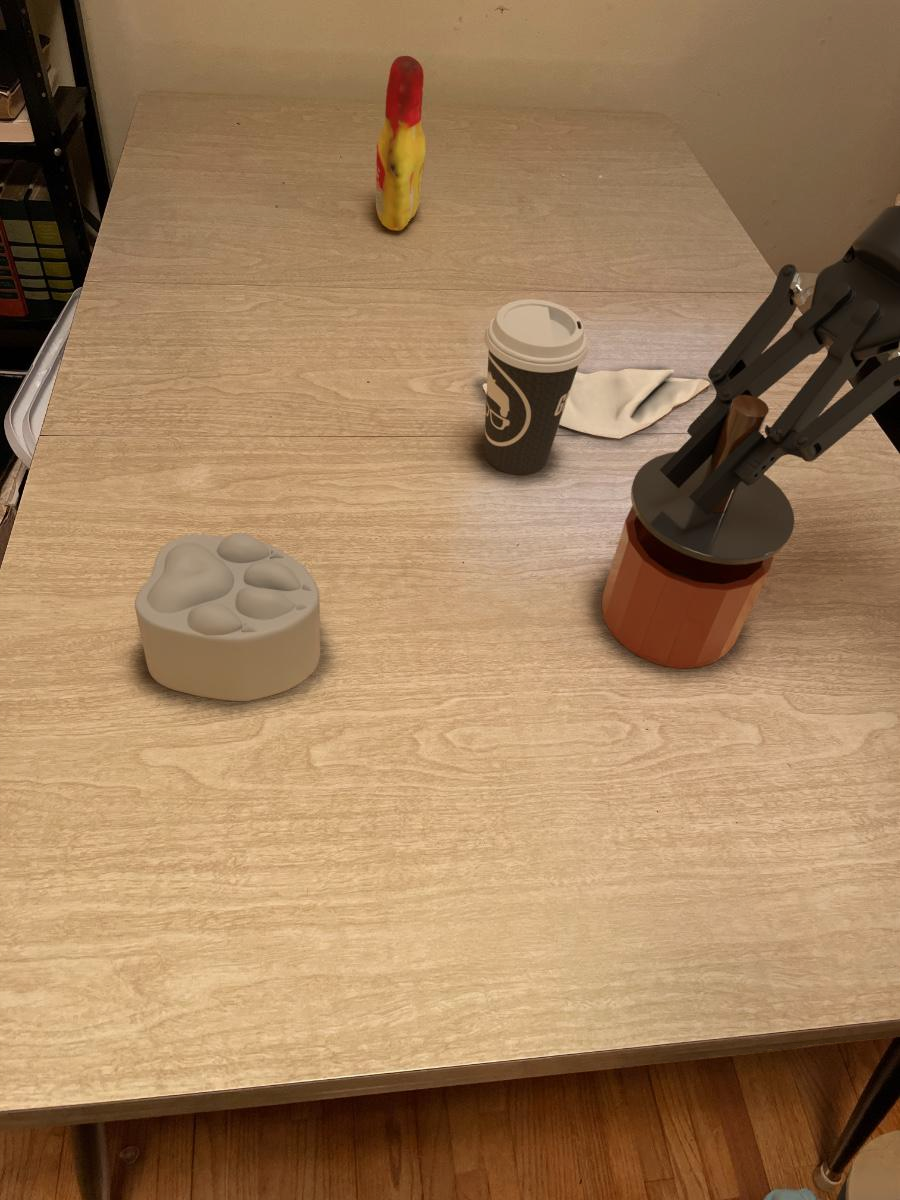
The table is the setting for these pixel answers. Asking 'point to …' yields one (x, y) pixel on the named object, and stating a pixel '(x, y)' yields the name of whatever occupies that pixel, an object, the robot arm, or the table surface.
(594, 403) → the cloth
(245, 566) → the lumpy-topped squat cylinder
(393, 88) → the bottle
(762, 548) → the lid
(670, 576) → the pot
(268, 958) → the table surface
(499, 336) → the coffee cup
